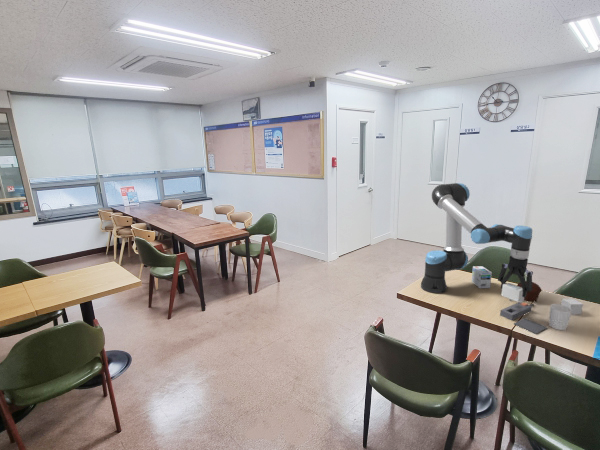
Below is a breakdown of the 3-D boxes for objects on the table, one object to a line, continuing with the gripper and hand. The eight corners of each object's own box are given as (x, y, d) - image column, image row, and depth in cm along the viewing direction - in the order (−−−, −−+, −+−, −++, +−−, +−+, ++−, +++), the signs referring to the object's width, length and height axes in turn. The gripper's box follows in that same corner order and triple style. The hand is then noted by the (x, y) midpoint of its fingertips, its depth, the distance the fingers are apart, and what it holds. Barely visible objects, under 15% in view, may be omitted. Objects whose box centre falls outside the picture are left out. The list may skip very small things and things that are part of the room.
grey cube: (569, 314, 165) (571, 304, 164) (560, 309, 171) (562, 298, 170) (580, 314, 165) (583, 304, 164) (571, 308, 171) (573, 298, 170)
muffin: (540, 297, 184) (542, 281, 182) (540, 305, 176) (542, 288, 173) (515, 292, 191) (517, 276, 189) (514, 299, 182) (516, 283, 180)
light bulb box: (490, 288, 197) (492, 272, 195) (479, 288, 197) (481, 272, 195) (481, 281, 208) (482, 265, 205) (470, 281, 208) (472, 266, 205)
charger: (501, 298, 166) (503, 284, 164) (506, 296, 168) (508, 282, 166) (517, 305, 159) (519, 290, 157) (522, 302, 161) (525, 288, 159)
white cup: (543, 322, 158) (546, 304, 156) (557, 321, 159) (561, 303, 157) (556, 331, 151) (560, 312, 148) (572, 330, 151) (576, 311, 149)
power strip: (499, 315, 166) (500, 309, 165) (527, 303, 178) (528, 297, 177) (511, 320, 161) (512, 314, 160) (539, 307, 173) (540, 301, 172)
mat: (513, 324, 158) (513, 323, 157) (524, 319, 162) (525, 317, 162) (536, 334, 149) (536, 333, 149) (547, 328, 154) (547, 327, 153)
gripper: (493, 252, 165) (487, 292, 171) (538, 265, 147) (530, 309, 153) (501, 249, 168) (496, 289, 174) (546, 262, 151) (538, 305, 156)
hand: (512, 298), depth 163 cm, fingers closed on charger, 8 cm apart
